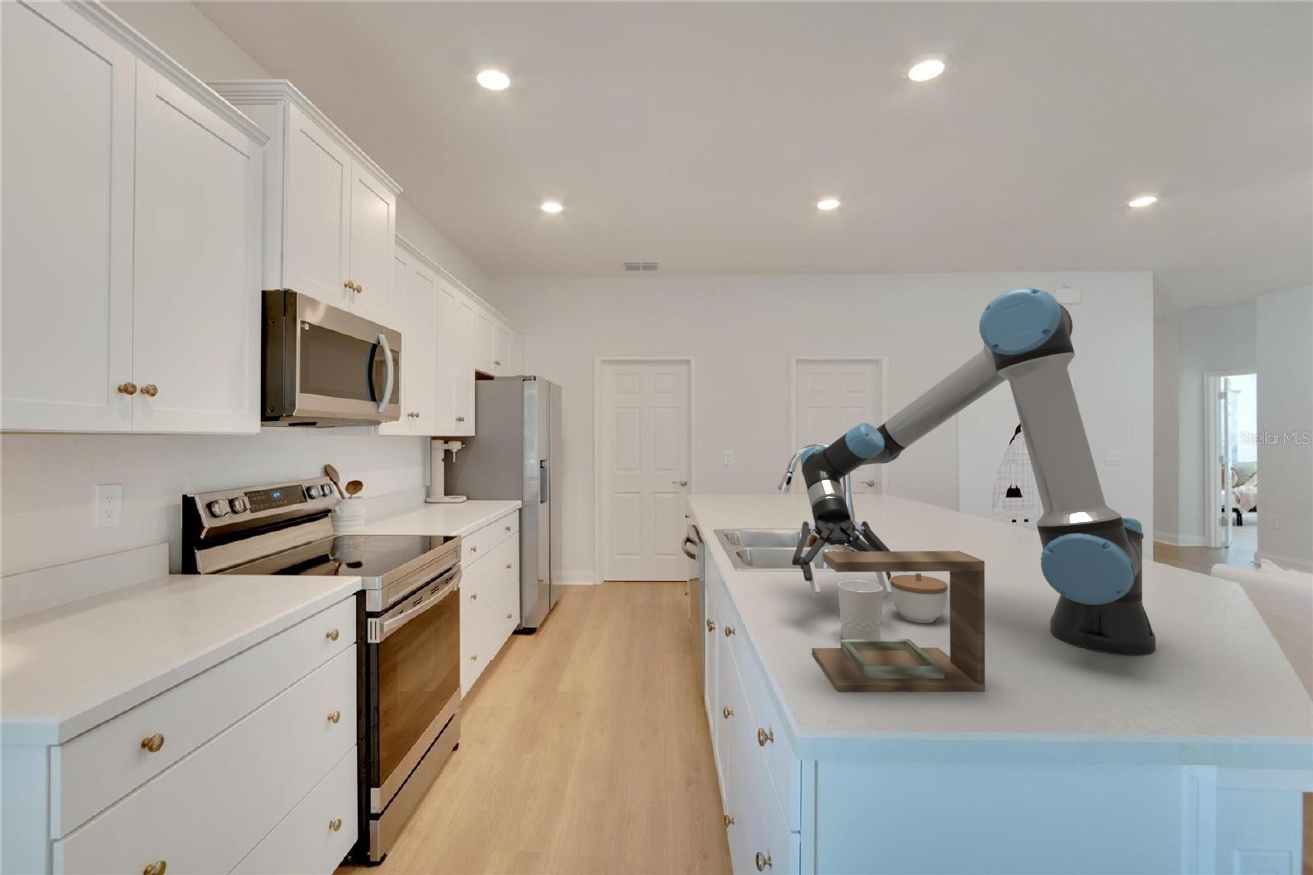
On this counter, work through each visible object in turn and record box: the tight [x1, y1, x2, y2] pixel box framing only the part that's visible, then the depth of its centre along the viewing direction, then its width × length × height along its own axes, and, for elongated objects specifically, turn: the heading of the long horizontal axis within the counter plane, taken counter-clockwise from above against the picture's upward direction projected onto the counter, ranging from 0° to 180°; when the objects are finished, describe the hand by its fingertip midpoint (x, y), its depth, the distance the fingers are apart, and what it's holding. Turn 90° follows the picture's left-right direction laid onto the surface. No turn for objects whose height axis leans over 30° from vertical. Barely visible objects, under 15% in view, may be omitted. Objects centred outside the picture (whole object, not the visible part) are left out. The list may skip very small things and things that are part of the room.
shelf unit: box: [811, 550, 986, 693], centre depth 89 cm, size 22×14×20 cm, turn 89°
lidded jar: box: [889, 572, 948, 624], centre depth 114 cm, size 11×11×9 cm
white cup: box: [837, 579, 884, 639], centre depth 103 cm, size 8×8×10 cm
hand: (852, 595), depth 105 cm, fingers open, 13 cm apart
